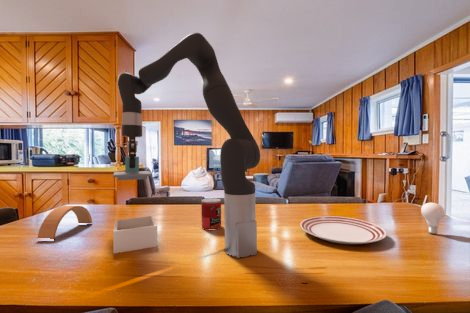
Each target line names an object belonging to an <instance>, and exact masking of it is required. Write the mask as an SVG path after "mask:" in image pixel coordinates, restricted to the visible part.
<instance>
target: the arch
mask: <svg viewBox="0 0 470 313" xmlns="http://www.w3.org/2000/svg"><path fill="white" fill-rule="evenodd" d="M69 212H73V213H74V214H75V216H76V218H77V224H78V223H92V224H93V218H92V215H91V213H90V211H89V210H88V208H86V207H84V206H82V205H60V206H57V207H56V208H54V209H52V210H51V211H50V212H49V213H48V214H47V215H46V216H45V217H44V219H43V221H42V223H41V225H40V227H39V229H38V234H37V239H38V238H50V239H54V238H55V239H56V236H57V235H56V234H57V231H58V227H59V225H60V223H61V221H62V220H63V218H64V217H65V216H66V215H67V214H68V213H69Z"/></svg>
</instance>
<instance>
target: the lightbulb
mask: <svg viewBox="0 0 470 313" xmlns="http://www.w3.org/2000/svg"><path fill="white" fill-rule="evenodd" d="M420 212H421V215H422V216H423V218H424V219H425V221H426V224H427V232H428V233H430V234H431V235H436V234H438V233H439V232H438V229H439V228H438V227H439V224H440V222H441V220H442V219H443V218H444V217H445V215H446V214H445V209H444V207H443V206H442V205H440V204H439V203H436V202H426V203H424V204H423V205H422V206H421V208H420Z"/></svg>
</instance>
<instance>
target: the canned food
mask: <svg viewBox="0 0 470 313" xmlns="http://www.w3.org/2000/svg"><path fill="white" fill-rule="evenodd" d="M200 204H201V205H200V206H201V209H200V210H201V228H202V229H203V228H204V229H203V230H205V229H217V230H219V229H221V228H220V227H222V201H221V199H220V198H214V197H211V198H204V199H201V203H200ZM218 228H219V229H218Z"/></svg>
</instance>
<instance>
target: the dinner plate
mask: <svg viewBox="0 0 470 313" xmlns="http://www.w3.org/2000/svg"><path fill="white" fill-rule="evenodd" d="M299 225H300V227H301V230H303V231H304V232H306V233H307V234H310V235H311V236H313V237H316V238H317V239H318V238H319V239H321V240H322V241H323V240H324V241H327V242H330V243H335V244H341V245H362V244H363V245H364V244H370V243H376V242H379V241H382V240H384V239H385V238H386V237H387V235H388V234H387V231H386V229H384V228H382V227H381V226H379V225H378V224H375V223H372V222H370V221H366V220H362V219H357V218H353V217H347V216H333V215H332V216H330V215H325V216H324V215H321V216H314V217H308V218H306V219H303V220H302V221H300V224H299Z"/></svg>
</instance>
